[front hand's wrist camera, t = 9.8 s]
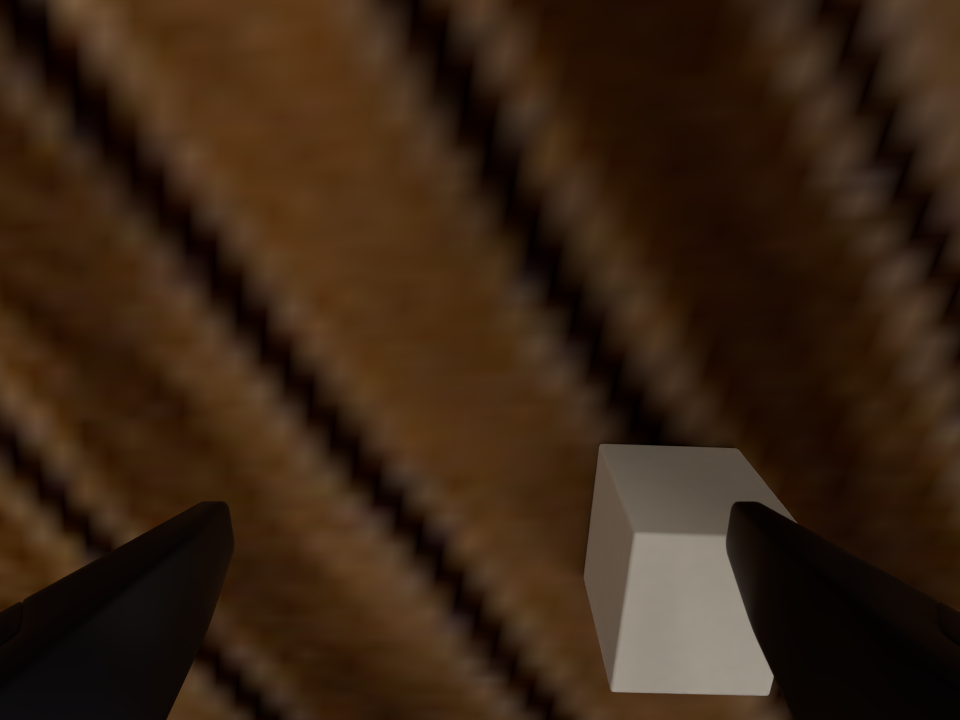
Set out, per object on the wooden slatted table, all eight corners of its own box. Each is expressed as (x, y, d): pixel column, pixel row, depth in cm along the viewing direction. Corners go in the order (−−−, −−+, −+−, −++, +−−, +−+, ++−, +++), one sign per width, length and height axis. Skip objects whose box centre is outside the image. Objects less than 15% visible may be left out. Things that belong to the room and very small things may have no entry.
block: (738, 447, 20) (811, 538, 15) (710, 581, 22) (769, 697, 17) (598, 442, 20) (633, 533, 15) (582, 578, 21) (610, 693, 17)
